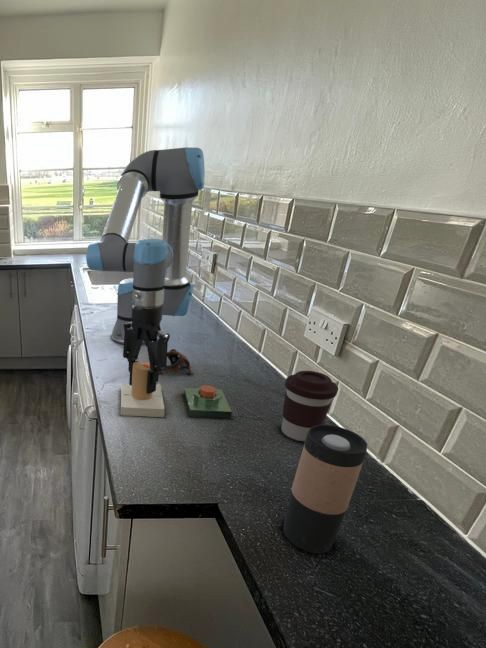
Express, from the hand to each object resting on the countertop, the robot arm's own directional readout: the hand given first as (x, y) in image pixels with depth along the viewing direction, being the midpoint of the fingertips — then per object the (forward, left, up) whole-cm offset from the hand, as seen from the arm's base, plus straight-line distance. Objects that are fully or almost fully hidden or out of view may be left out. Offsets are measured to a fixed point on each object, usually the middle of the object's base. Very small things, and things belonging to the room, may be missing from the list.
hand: (142, 387), depth 109 cm
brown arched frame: (-21, +11, -5) cm, 24 cm away
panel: (0, 0, -5) cm, 5 cm away
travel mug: (+43, +26, -5) cm, 51 cm away
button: (0, +17, -1) cm, 17 cm away
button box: (0, +17, -5) cm, 18 cm away
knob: (0, 0, -2) cm, 2 cm away
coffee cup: (+11, +36, -5) cm, 38 cm away
